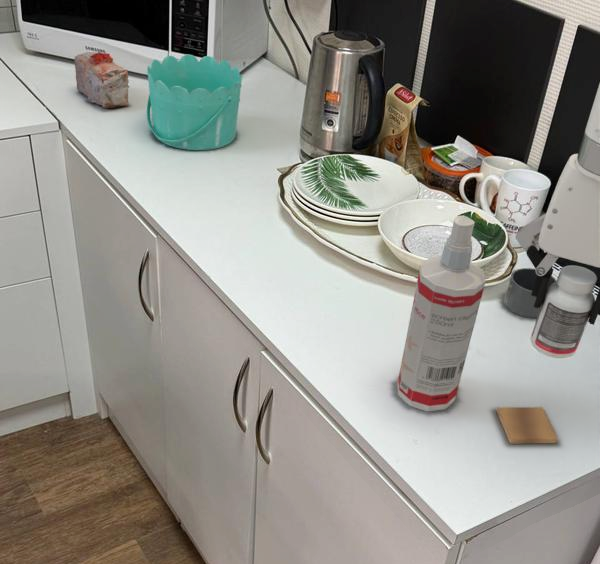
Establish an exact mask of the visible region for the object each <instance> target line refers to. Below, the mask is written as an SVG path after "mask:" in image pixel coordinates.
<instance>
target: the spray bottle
mask: <svg viewBox="0 0 600 564" xmlns="http://www.w3.org/2000/svg"><path fill="white" fill-rule="evenodd" d="M474 227H475V221H474V220H473V219H472V218H470V217H468V216H466V215H464V214H463V215H457V216H455V217H454V219H453V223H452V227H451V232H450V235H449V236H448V238H446V241H445V242H444V246H443V250H442V252H441V256H431V257H429V258H427V260H424V262H422V263H420V265H419V270H418V276H417V280H416V285H415V292H414V296H413V301H412V307H411V311H410V317H409V321H408V327H407V332H406V337H405V341H404V342H405V343H404V348H403V352H402V358H401V363H400V369H399V373H398V379H397V396H398V397H399V398H400V399H401V400H402V401H403V402H405V403H406V405H408V406H409V407H411V408H414V409H418V410H421V411H424V412H435V411H445V410H447V408H449V407H450V406H451V405H452V404H453V403H454V402H456V398H457V395H458V390H459V386H460V382H461V378H462V375H463V370H464V367H465V364H466V359H467V355H468V352H469V349H470V344H471V339H472V335H473V332H474V328H475V325H476V320H477V316H478V312H479V308H480V305H481V301H482V297H483V294H484V289H485V286H486V282H487V280H486V276H485V271H484V269H483V268H481V267H479V266H478V265H477V264H475V263H473V262H472V261H471V260H472V254H473V240H472V236H473V231H474Z"/></svg>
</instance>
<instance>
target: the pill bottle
mask: <svg viewBox="0 0 600 564" xmlns="http://www.w3.org/2000/svg"><path fill="white" fill-rule="evenodd" d="M556 281H557V282H554V283H553V284H551V285H550V286H549V287H548V288H547V290H546V293H545V296H544V299H543V302H542V305H541V308H540V311H539V314H538V317H537V318H536V319H535V323H534V325H533V329H532V332H531V335H530V343H531V345H532V347H533V348H534V349H535V350H536V352H539V353H541V354H542V355H544V356H546V357H549V358H551V359H553V358H554V359H567V358H570V357H572V356H574V355H575V353H576V352H577V350H578V348H579V346H580V345H579V344H580V343H581V340H582V338H583V334H584V333H585V330H586V327H587V324H588V323H589V322H588V320H589V317H590V314H591V312H592V309H593V306H594V303H595V300H596V297H595V294H594V293H593V291H594V290H595V287H596V284H597V281H598V277H597V275H596V273H595V272H594V271H592V270H590V269H588V268H587V267H584V266H580V265H573V264H571V265H564V266H563V267H562V268H560V271H559V273H558V276H557V278H556Z"/></svg>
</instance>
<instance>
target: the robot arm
mask: <svg viewBox="0 0 600 564" xmlns="http://www.w3.org/2000/svg"><path fill="white" fill-rule="evenodd" d="M596 90H597V91H596V94H595V97H594V100H593V104H592V107H591V110H590V113H589V116H588V120H587V123H586V126H585V130H584V133H583V136H582V140H581V143H580V145H579V149H578V152H577V153H573V154H571V156H569V158H568V160H567V162H566V164H565V166H564V167H563V169H562V172H561V174H560V176H559V178H558V181H557V183H556V186H555V189H554V191H553V193H552V196H551V200H550V202H549V204H548V207H547V210H546V213H543V214H542V215H540V216H539V217H537V218H535V219H534V220H532V221H530V222H529V223H527V224H525V225H524V226H522V227H520V228H519V229H518V230H517V232H516V234H515V240H516V241H517V243H518V244H519V245H520V246H521V248H522V249H523V250H524V251H525V253H526V256H527V258H528V259H529V261H530V263H531V264H532V265H533V267H534V269H536V270H535V272H536V274H537V277H536V280H535V284H534V287H533V290H532V293H531V296H535V297H536V301H535V304H534V307H535V308H538V307H539V308H540V307H541V305H542V302H543V299H544V296H545V293H546V290H547V288H548V286H549V282H550V279H551V276H553V274H554V270H555V269H554V268H553V266H554V265H555V263H556V262H557V260H558V259H559V258H562V259H565V260H569V261H573V262H577V263H580V264H585V265H587V266H592V267H594V268H599V269H600V83H599V84H598V88H597V89H596ZM536 235H539V236H538V239H537V240H538V241H536V238H535V236H536ZM598 316H600V288H599V289H598V292H597V294H596V297H595V303H594V306H593V309H592V312H591V314H590V317H589V319H588V322H587V323H589V325H593V326H594V325H595V323H596V321H597V318H598Z"/></svg>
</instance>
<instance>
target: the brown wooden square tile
mask: <svg viewBox="0 0 600 564" xmlns="http://www.w3.org/2000/svg"><path fill="white" fill-rule="evenodd" d="M496 413H497V416H498V419H499V422H500V423H501V425H502V428H503V430H504V433H505V435H506V438H507V440H508V443H509V444H512V445H513V444H514V445H515V444H517V445H518V444H557V442H558V437H557V435H556V432H555V430H554V428H553V426H552V424H551V422H550V420H549V418H548V415H547V414H546V412H545V410H544V408H543V407H542V406H541V407H540V406H539V407H537V406H536V407H533V406H532V407H530V406H529V407H525V406H524V407H515V406H514V407H511V406H510V407H497V409H496Z"/></svg>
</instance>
